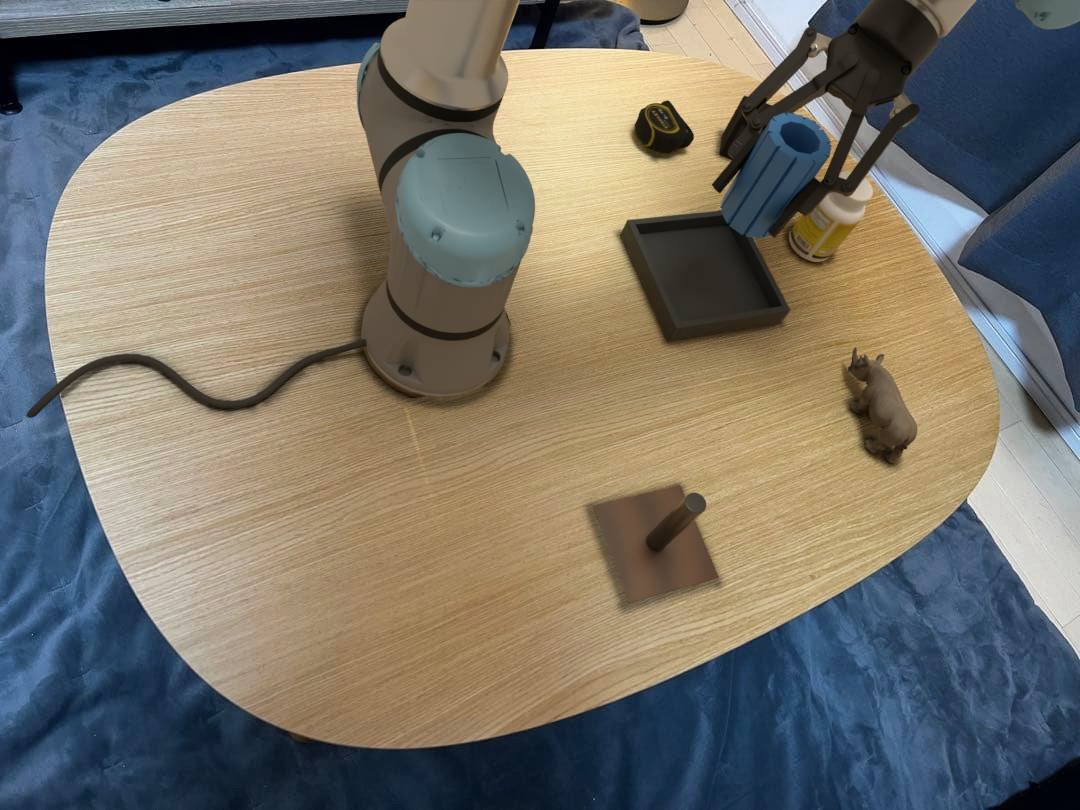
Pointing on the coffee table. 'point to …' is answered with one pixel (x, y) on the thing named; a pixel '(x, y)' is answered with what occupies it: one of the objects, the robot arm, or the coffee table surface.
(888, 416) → the rhino figurine
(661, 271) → the tray
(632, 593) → the stand
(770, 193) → the blue grooved hollow cylinder
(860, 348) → the coffee table surface
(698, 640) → the coffee table surface
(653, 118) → the tape measure
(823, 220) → the pill bottle
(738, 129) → the digital camera
